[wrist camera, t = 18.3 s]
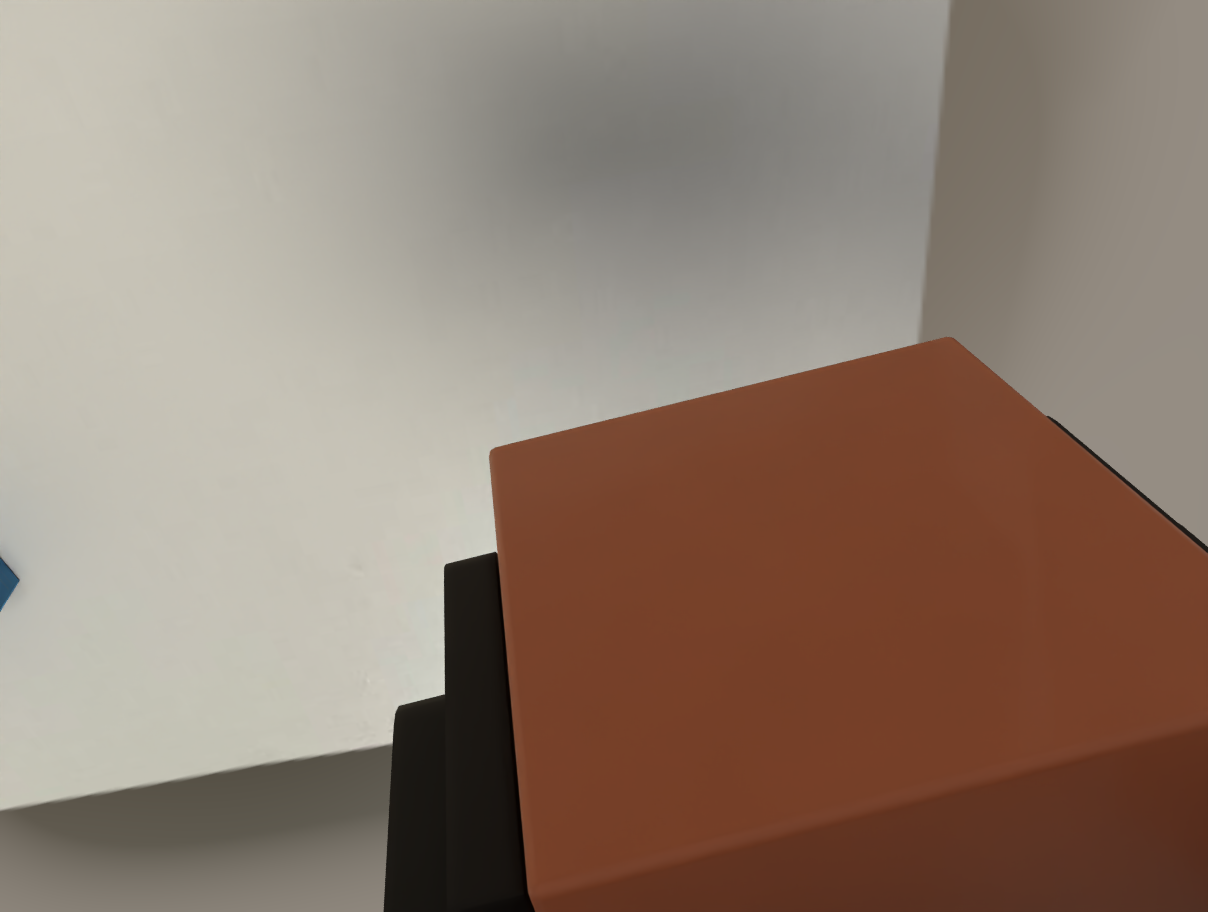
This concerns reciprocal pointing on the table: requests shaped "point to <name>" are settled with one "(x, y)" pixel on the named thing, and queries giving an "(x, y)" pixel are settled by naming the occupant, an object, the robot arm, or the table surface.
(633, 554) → the block
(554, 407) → the table surface
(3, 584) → the perfume bottle
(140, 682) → the table surface
